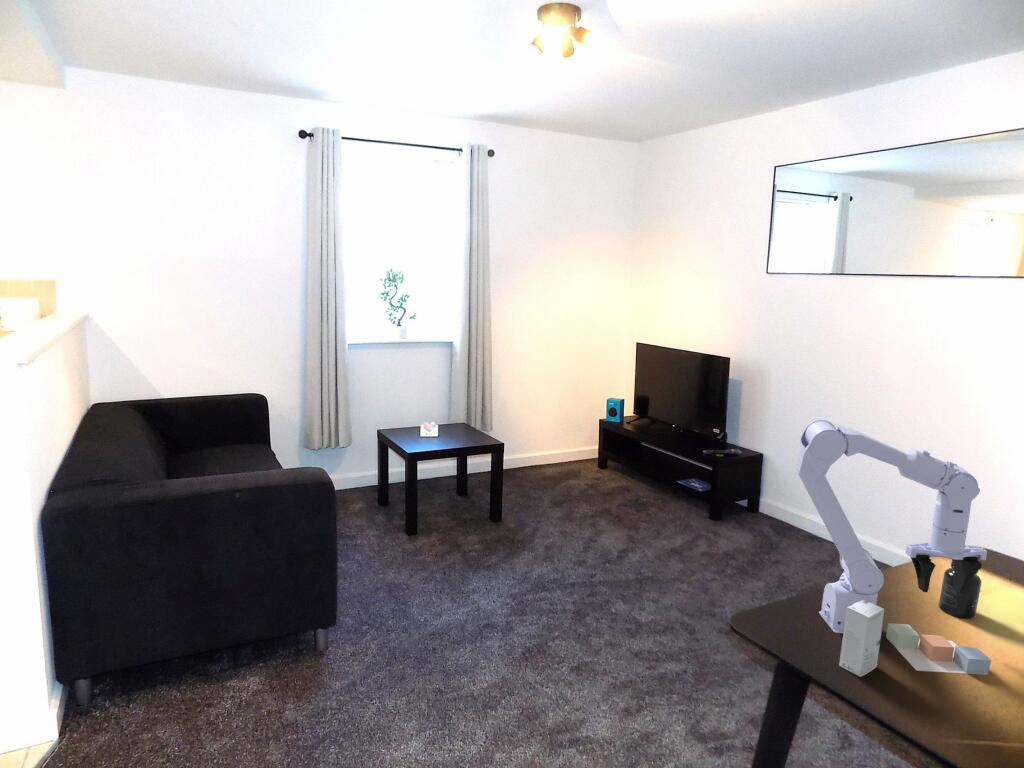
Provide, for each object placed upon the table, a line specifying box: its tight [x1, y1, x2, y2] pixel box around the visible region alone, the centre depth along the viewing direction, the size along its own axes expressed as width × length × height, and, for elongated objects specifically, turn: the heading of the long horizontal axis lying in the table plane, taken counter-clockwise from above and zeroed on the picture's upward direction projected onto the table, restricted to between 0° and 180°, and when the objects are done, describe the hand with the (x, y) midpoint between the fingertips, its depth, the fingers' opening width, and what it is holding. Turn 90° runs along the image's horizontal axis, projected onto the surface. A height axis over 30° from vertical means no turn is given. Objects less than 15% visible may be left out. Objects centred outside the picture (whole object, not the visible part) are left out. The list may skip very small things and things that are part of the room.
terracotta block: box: [919, 634, 954, 662], centre depth 127 cm, size 4×4×3 cm
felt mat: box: [885, 636, 987, 676], centre depth 127 cm, size 13×11×1 cm
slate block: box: [953, 645, 992, 676], centre depth 123 cm, size 4×4×3 cm
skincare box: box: [838, 600, 885, 678], centre depth 122 cm, size 6×4×12 cm
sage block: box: [885, 622, 921, 650], centre depth 130 cm, size 4×4×3 cm
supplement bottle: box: [938, 558, 982, 620], centre depth 143 cm, size 7×7×12 cm
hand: (940, 590), depth 132 cm, fingers open, 6 cm apart
